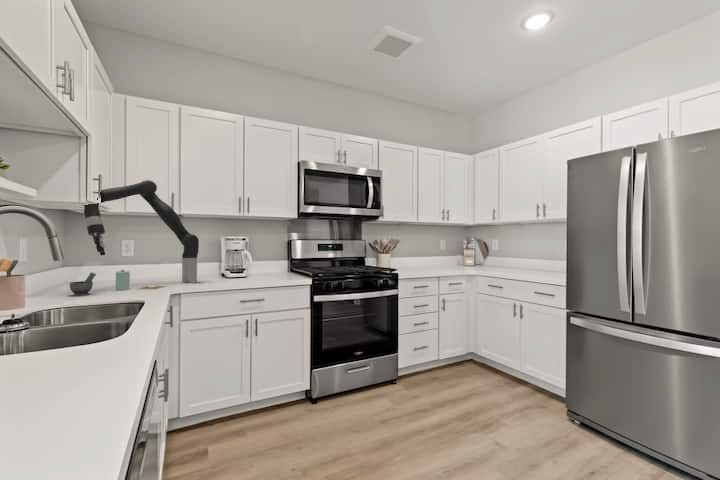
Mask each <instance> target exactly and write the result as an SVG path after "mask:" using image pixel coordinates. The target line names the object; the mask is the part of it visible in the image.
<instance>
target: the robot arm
mask: <svg viewBox="0 0 720 480" xmlns="http://www.w3.org/2000/svg"><path fill="white" fill-rule="evenodd" d="M157 189H158V186H157V184H156V183H155V182H154V181H153V180H149V179H146V180H142V181H141V182H138V183H134V184H130V185H124V186H123V185H122V186H117V187H111V188H104V189H101V192H100V195H101V203H100V204H103V203H106V202H111V201H117V200H121V199H124V198H125V199H126V198H129V197H131V196H137V195H139V196H140V197H141V198H142V199H144V200H145V201H146V202H147V203H148V205H150V206H151V208H152V209H153V211H154V212H155V213H156V214H157V215H158V217H159V218H160V219H161V221H163V223H164V224H165V225H166V226H167V227H168V228H169V229H170V230H171V231H172V232H173V233H174V235H175V236H176V238H177V239H178V240H179V243H181V245H182V246H183V252H182V255H181V258H182V259H181V264H182V265H181V284H183V283H184V284H185V285H186V284H187V285H188V284H189V285H190V283H191V284H198V254H199V247H200V246H199V245H200V244H199V243H200V242H199V238H198V235H195V234H193V233H190V232H189V231H188V230H187V229H186V227H185V226H184V225H183V223H182V221H181V218H180V217H179V215H178V214H177V213H176V211H175V210H174V209H173V208H172V207H171V205H169V204H167V202H165V201H163V200H162V199H160V198H159V196H158V194H157V193H156V191H157ZM97 200H98V198H97ZM100 204H99V203H97V204H88V205H83V206H84V209H83V214H84V218H85V225H86V229H87V234H88V235H89V236H92V239H93V242H94V245H95V247H96V251H97V253H99V255H100V256H101V257H102V256H105V255H106V251H105V243H104V238H103V236H102V235H104V234H105V233H106V230H105V226H104V223H103V221H104V220H103V219H102V217H101V212H100V208H99V207H100V206H99V205H100Z"/></svg>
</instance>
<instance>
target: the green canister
mask: <svg viewBox="0 0 720 480" xmlns="http://www.w3.org/2000/svg"><path fill="white" fill-rule="evenodd" d="M130 274H131V273H130V271H129V270H125V269H120V270H118V271H115V291H129V290H130V280H131V279H130V277H131V276H130Z"/></svg>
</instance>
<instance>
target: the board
mask: <svg viewBox="0 0 720 480" xmlns="http://www.w3.org/2000/svg"><path fill="white" fill-rule="evenodd" d="M148 286H149V285H147V286H143V287H140V288H138V290H159V289H162V288H166V287H167V285H165V286H164V285H154V286H155V288H148Z"/></svg>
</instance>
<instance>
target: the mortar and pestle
mask: <svg viewBox="0 0 720 480" xmlns="http://www.w3.org/2000/svg"><path fill="white" fill-rule="evenodd" d="M96 275H97V274H96V273H95V272H90V273H89V274H88V276H87V277H86V279H85V280H84V281H73V282H72V281H71V282H69V290H70V291H71V292H72V293H73V296H75V297H80V296H81V297H82V296H84V297H85V296H88V295H89V292H90V291H91V290H92V288H93V284H94V282H93V279H94V278H95V277H96Z"/></svg>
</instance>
